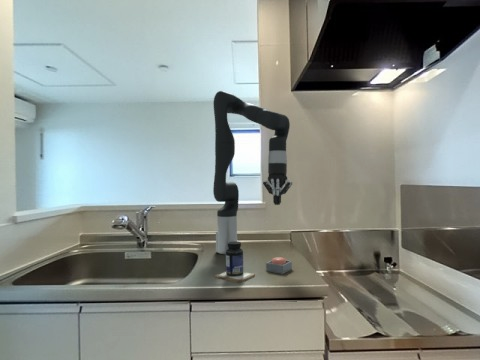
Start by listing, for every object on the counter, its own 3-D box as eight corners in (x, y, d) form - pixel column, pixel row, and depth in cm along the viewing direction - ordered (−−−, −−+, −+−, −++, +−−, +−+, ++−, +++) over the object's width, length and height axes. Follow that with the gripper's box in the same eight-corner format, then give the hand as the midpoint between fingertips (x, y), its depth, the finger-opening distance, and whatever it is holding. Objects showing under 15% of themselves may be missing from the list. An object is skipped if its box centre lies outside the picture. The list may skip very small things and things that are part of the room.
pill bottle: (245, 272, 105) (245, 241, 105) (240, 277, 99) (239, 244, 99) (229, 270, 107) (229, 240, 107) (223, 275, 101) (222, 243, 101)
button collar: (266, 270, 109) (266, 262, 109) (275, 266, 115) (275, 258, 115) (283, 274, 105) (283, 265, 105) (291, 269, 111) (291, 261, 111)
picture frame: (214, 277, 102) (214, 274, 102) (230, 270, 110) (230, 268, 110) (240, 283, 96) (240, 280, 96) (255, 275, 103) (255, 273, 103)
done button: (270, 270, 109) (269, 259, 109) (276, 267, 113) (276, 256, 113) (282, 272, 106) (281, 261, 106) (288, 269, 110) (288, 258, 110)
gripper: (258, 162, 121) (258, 204, 121) (287, 161, 113) (287, 206, 114) (268, 163, 127) (268, 203, 127) (296, 162, 119) (296, 205, 120)
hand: (277, 204), depth 120 cm, fingers closed
